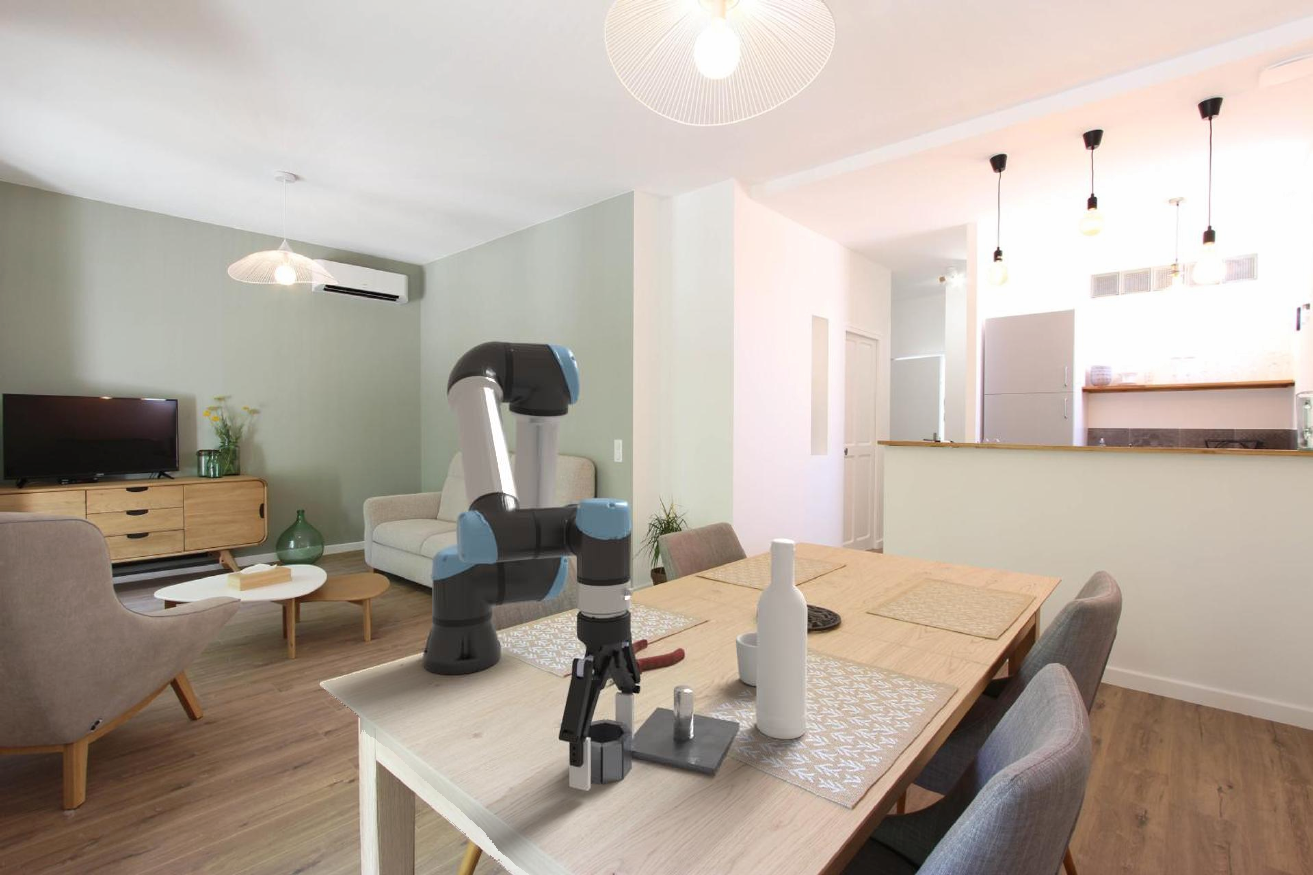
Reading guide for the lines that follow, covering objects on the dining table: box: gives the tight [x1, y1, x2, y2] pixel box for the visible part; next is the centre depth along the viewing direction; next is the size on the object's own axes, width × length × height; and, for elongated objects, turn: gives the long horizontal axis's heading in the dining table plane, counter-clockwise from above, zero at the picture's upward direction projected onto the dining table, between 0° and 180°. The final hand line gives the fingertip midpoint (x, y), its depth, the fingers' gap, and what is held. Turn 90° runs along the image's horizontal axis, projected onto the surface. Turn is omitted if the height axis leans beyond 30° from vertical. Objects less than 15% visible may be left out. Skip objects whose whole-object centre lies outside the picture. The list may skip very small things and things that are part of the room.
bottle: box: [755, 538, 808, 740], centre depth 98 cm, size 8×8×30 cm
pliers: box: [609, 638, 686, 684], centre depth 122 cm, size 12×20×3 cm, turn 146°
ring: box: [587, 718, 633, 785], centre depth 87 cm, size 7×7×5 cm
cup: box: [735, 631, 757, 687], centre depth 115 cm, size 11×8×8 cm
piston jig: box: [632, 684, 741, 777], centre depth 94 cm, size 14×14×8 cm
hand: (603, 761), depth 86 cm, fingers open, 13 cm apart
